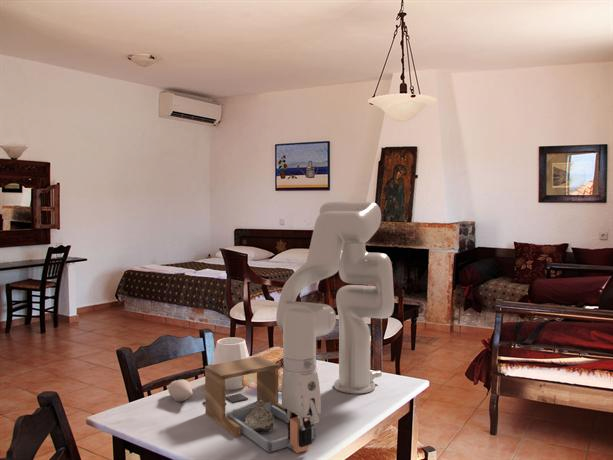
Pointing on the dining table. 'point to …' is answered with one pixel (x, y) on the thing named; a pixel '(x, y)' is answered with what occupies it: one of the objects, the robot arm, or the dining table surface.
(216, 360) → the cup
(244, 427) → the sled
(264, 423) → the rock sample
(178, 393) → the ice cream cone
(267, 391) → the brown wooden arch frame
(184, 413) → the dining table surface
